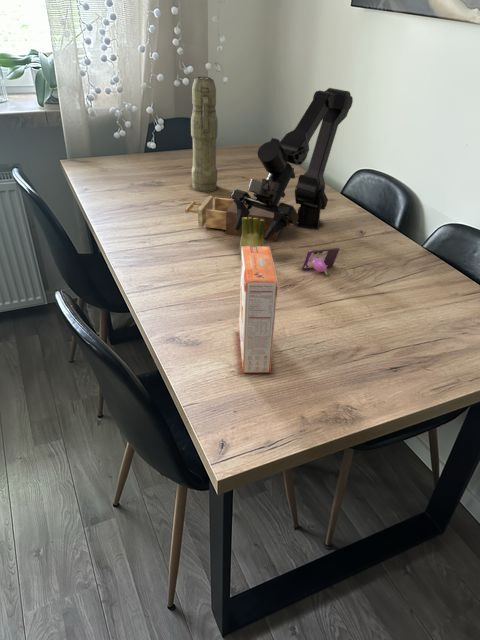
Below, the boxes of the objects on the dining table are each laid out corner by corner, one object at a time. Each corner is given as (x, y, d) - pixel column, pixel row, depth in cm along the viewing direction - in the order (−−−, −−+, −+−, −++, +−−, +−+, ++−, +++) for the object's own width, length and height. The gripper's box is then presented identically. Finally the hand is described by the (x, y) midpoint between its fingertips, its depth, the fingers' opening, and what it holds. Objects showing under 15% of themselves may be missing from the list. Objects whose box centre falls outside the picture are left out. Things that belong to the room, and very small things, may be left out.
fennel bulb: (263, 259, 139) (267, 217, 132) (254, 266, 135) (256, 223, 128) (246, 253, 141) (248, 212, 134) (236, 259, 138) (237, 217, 131)
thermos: (195, 193, 175) (194, 81, 154) (189, 182, 184) (186, 74, 163) (220, 192, 178) (222, 81, 157) (213, 181, 187) (213, 74, 166)
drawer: (182, 224, 152) (182, 207, 149) (194, 210, 162) (194, 193, 158) (244, 233, 150) (245, 215, 147) (252, 218, 159) (253, 201, 156)
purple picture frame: (338, 245, 133) (306, 248, 130) (345, 260, 131) (313, 263, 128) (331, 263, 139) (300, 266, 136) (337, 277, 136) (307, 281, 133)
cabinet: (225, 234, 151) (226, 211, 146) (235, 217, 161) (236, 196, 157) (275, 241, 149) (277, 218, 145) (282, 224, 159) (284, 202, 155)
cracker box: (237, 333, 110) (240, 244, 97) (264, 333, 111) (271, 245, 98) (240, 374, 99) (244, 280, 86) (270, 374, 99) (279, 280, 87)
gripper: (235, 158, 131) (209, 210, 130) (297, 174, 123) (269, 231, 122) (251, 181, 141) (226, 230, 140) (309, 198, 133) (283, 250, 132)
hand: (250, 234), depth 133 cm, fingers open, 9 cm apart
